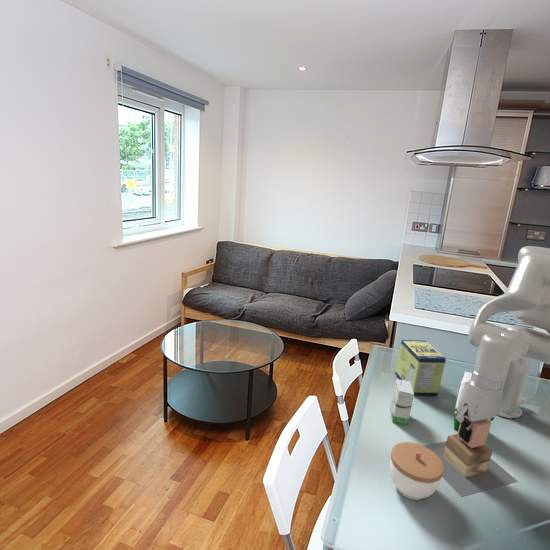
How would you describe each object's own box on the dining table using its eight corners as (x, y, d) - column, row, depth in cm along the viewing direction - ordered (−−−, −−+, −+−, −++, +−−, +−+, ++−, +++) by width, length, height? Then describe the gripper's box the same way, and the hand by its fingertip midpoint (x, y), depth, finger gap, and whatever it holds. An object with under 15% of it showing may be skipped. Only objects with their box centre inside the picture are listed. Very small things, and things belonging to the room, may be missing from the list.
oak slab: (463, 451, 113) (466, 441, 112) (486, 471, 106) (489, 461, 105) (442, 456, 111) (445, 446, 110) (464, 477, 103) (467, 466, 102)
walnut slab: (466, 441, 112) (469, 431, 111) (489, 461, 105) (492, 450, 104) (445, 446, 110) (447, 435, 109) (467, 466, 102) (470, 455, 101)
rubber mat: (465, 438, 120) (466, 437, 120) (517, 482, 104) (518, 481, 104) (414, 448, 113) (414, 447, 113) (461, 498, 97) (461, 496, 97)
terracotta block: (470, 432, 109) (476, 411, 107) (484, 444, 105) (491, 423, 103) (456, 435, 108) (462, 414, 106) (471, 447, 103) (477, 425, 101)
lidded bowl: (431, 518, 90) (441, 480, 87) (379, 492, 96) (386, 455, 93) (440, 484, 101) (449, 449, 98) (392, 462, 107) (400, 429, 104)
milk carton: (450, 431, 123) (465, 376, 117) (451, 416, 131) (464, 363, 125) (481, 441, 119) (497, 384, 114) (479, 425, 127) (494, 371, 122)
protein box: (417, 374, 157) (425, 339, 153) (438, 396, 142) (447, 358, 138) (394, 374, 155) (401, 339, 151) (412, 396, 140) (420, 358, 136)
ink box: (407, 426, 123) (414, 394, 120) (392, 423, 124) (398, 391, 120) (404, 411, 131) (411, 380, 128) (389, 408, 132) (396, 377, 129)
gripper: (498, 369, 107) (483, 424, 112) (451, 375, 101) (437, 433, 106) (523, 384, 101) (505, 442, 106) (474, 391, 95) (458, 452, 100)
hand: (471, 437), depth 106 cm, fingers closed on terracotta block, 5 cm apart
